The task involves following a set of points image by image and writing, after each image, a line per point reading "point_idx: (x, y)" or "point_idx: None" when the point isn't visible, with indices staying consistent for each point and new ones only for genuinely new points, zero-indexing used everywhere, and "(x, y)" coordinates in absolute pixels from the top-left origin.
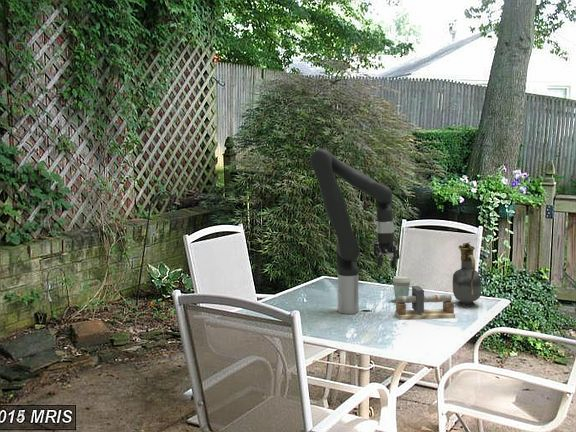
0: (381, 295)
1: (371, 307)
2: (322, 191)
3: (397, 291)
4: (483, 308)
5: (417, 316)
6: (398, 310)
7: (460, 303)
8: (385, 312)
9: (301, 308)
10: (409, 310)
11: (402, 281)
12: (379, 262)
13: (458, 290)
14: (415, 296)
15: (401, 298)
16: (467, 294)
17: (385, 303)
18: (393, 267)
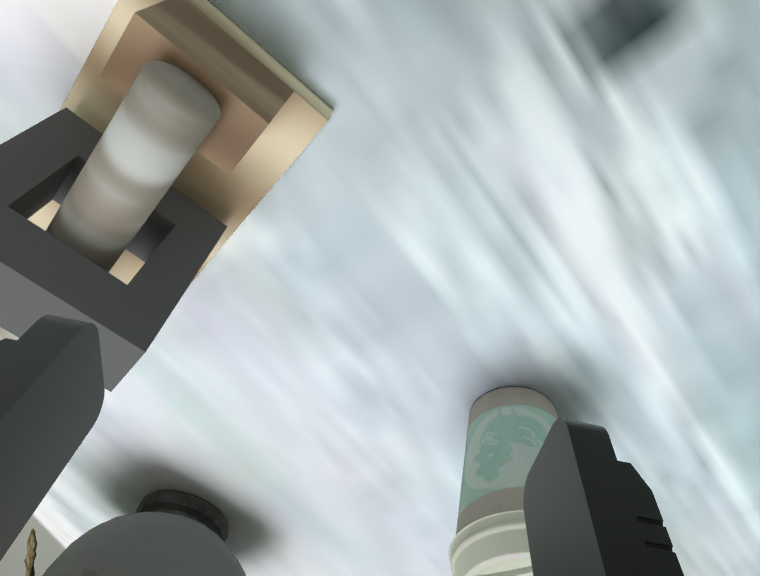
0: (726, 472)
1: (635, 160)
2: None
3: (526, 447)
4: (78, 498)
5: (72, 91)
6: (186, 18)
7: (186, 503)
8: (426, 92)
9: None
10: (240, 196)
11: (483, 530)
12: (574, 506)
13: (118, 556)
14: (68, 228)
15: (129, 94)
16: (79, 541)
17: (589, 327)
18: (4, 343)
